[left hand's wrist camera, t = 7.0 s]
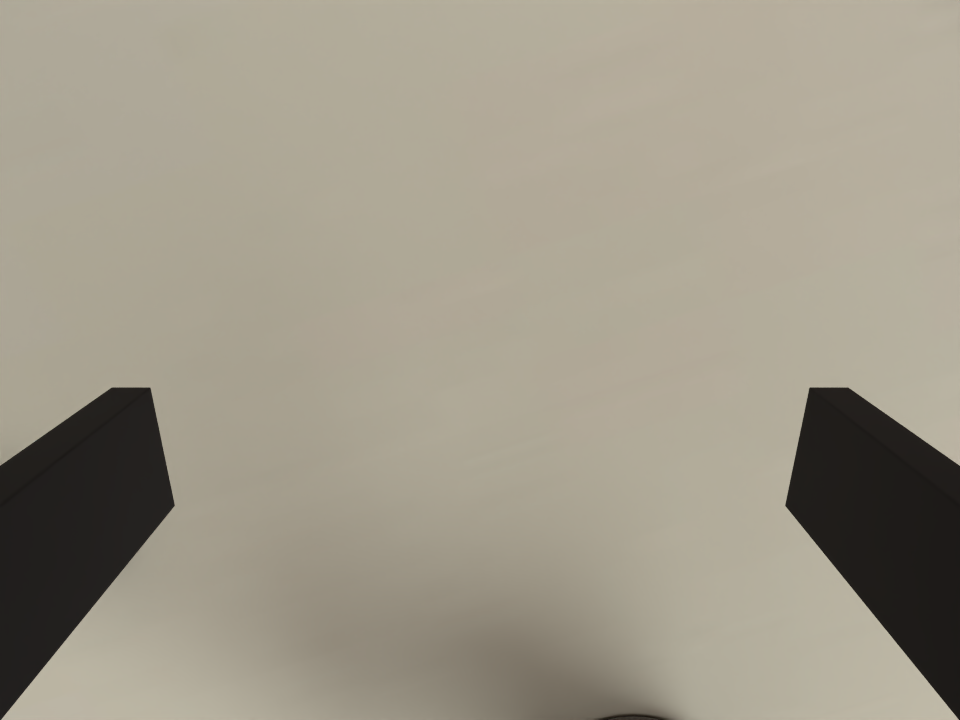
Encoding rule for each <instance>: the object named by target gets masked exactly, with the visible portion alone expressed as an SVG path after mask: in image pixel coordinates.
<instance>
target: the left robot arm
mask: <svg viewBox="0 0 960 720" xmlns="http://www.w3.org/2000/svg"><path fill="white" fill-rule="evenodd" d="M174 506H175V505H174V500H173V495H172V490H171V485H170V481H169V476H168V471H167V466H166V461H165V456H164V451H163V447H162V442H161V437H160V432H159V427H158V422H157V418H156V413H155V408H154V403H153V398H152V393H151V388H111V389H109V390H108V391H106V392H105V393H104V394H102V395H101V396H99V397H98V398H96V399H95V400H94V401H92V402H91V403H89V404H88V405H86V406H85V407H84V408H82V409H81V410H79V411H78V412H76V413H75V414H74V415H72V416H71V417H69V418H68V419H66V420H65V421H64V422H62V423H61V424H59V425H58V426H56V427H55V428H54V429H52V430H51V431H49V432H48V433H46V434H45V435H44V436H42V437H41V438H39V439H38V440H37V441H35V442H34V443H32V444H31V445H29V446H28V447H27V448H25V449H24V450H22V451H21V452H19V453H18V454H17V455H15V456H14V457H12V458H11V459H9V460H8V461H7V462H5V463H4V464H2V465H1V466H0V720H1V719H2V718H3V717H4V715H5V714H6V713H7V712H8V710H9V709H10V708H11V707H12V705H13V704H14V703H15V702H16V701H17V699H18V698H19V697H20V696H21V694H22V693H23V692H24V691H25V689H26V688H27V687H28V686H29V685H30V683H31V682H32V681H33V680H34V678H35V677H36V676H37V675H38V673H39V672H40V671H41V670H42V669H43V667H44V666H45V665H46V664H47V662H48V661H49V660H50V659H51V657H52V656H53V655H54V654H55V652H56V651H57V650H58V649H59V648H60V646H61V645H62V644H63V643H64V641H65V640H66V639H67V638H68V636H69V635H70V634H71V633H72V632H73V630H74V629H75V628H76V627H77V625H78V624H79V623H80V622H81V620H82V619H83V618H84V617H85V616H86V614H87V613H88V612H89V611H90V609H91V608H92V607H93V606H94V604H95V603H96V602H97V601H98V600H99V598H100V597H101V596H102V595H103V593H104V592H105V591H106V590H107V588H108V587H109V586H110V585H111V583H112V582H113V581H114V580H115V579H116V577H117V576H118V575H119V574H120V572H121V571H122V570H123V569H124V567H125V566H126V565H127V564H128V563H129V561H130V560H131V559H132V558H133V556H134V555H135V554H136V553H137V551H138V550H139V549H140V548H141V547H142V545H143V544H144V543H145V542H146V540H147V539H148V538H149V537H150V535H151V534H152V533H153V532H154V531H155V529H156V528H157V527H158V526H159V524H160V523H161V522H162V521H163V519H164V518H165V517H166V516H167V514H168V513H169V512H170V511H171V510H172V508H173V507H174ZM785 506H786V507H787V508H788V510H789V511H790V512H791V513H792V515H793V516H794V517H795V518H796V519H797V521H798V522H799V523H800V524H801V526H802V527H803V528H804V529H805V531H806V532H807V533H808V534H809V535H810V537H811V538H812V539H813V540H814V542H815V543H816V544H817V545H818V547H819V548H820V549H821V550H822V551H823V553H824V554H825V555H826V556H827V558H828V559H829V560H830V561H831V563H832V564H833V565H834V566H835V567H836V569H837V570H838V571H839V572H840V574H841V575H842V576H843V577H844V579H845V580H846V581H847V582H848V583H849V585H850V586H851V587H852V588H853V590H854V591H855V592H856V593H857V595H858V596H859V597H860V598H861V600H862V601H863V602H864V603H865V604H866V606H867V607H868V608H869V609H870V611H871V612H872V613H873V614H874V616H875V617H876V618H877V619H878V620H879V622H880V623H881V624H882V625H883V627H884V628H885V629H886V630H887V632H888V633H889V634H890V635H891V636H892V638H893V639H894V640H895V641H896V643H897V644H898V645H899V646H900V648H901V649H902V650H903V651H904V652H905V654H906V655H907V656H908V657H909V659H910V660H911V661H912V662H913V664H914V665H915V666H916V667H917V669H918V670H919V671H920V672H921V673H922V675H923V676H924V677H925V678H926V680H927V681H928V682H929V683H930V685H931V686H932V687H933V688H934V689H935V691H936V692H937V693H938V694H939V696H940V697H941V698H942V699H943V701H944V702H945V703H946V704H947V705H948V707H949V708H950V709H951V710H952V712H953V713H954V714H955V715H956V717H957V718H958V719H959V720H960V466H959V465H958V464H956V463H955V462H953V461H952V460H951V459H949V458H948V457H946V456H945V455H943V454H942V453H941V452H939V451H938V450H936V449H935V448H933V447H932V446H931V445H929V444H928V443H926V442H925V441H923V440H922V439H921V438H919V437H918V436H916V435H915V434H914V433H912V432H911V431H909V430H908V429H906V428H905V427H904V426H902V425H901V424H899V423H898V422H896V421H895V420H894V419H892V418H891V417H889V416H888V415H886V414H885V413H884V412H882V411H881V410H879V409H878V408H876V407H875V406H874V405H872V404H871V403H869V402H868V401H866V400H865V399H864V398H862V397H861V396H859V395H858V394H856V393H855V392H854V391H852V390H851V389H849V388H809V393H808V398H807V403H806V408H805V413H804V418H803V422H802V427H801V432H800V437H799V442H798V447H797V451H796V456H795V461H794V466H793V471H792V476H791V480H790V485H789V490H788V495H787V500H786V505H785ZM607 720H660V719H655V718H649V717H635V716H633V717H618V718H612V719H607Z"/></svg>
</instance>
